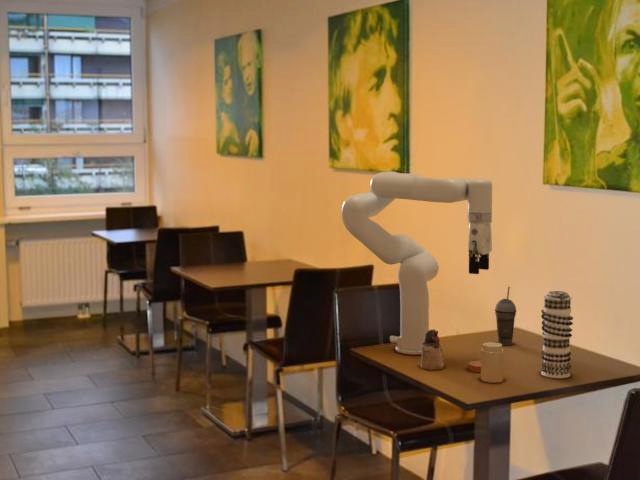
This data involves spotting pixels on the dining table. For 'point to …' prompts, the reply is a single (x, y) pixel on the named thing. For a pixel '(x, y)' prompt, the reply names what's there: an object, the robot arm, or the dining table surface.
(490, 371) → the honey jar
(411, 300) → the robot arm
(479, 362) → the jar lid
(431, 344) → the figurine
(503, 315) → the beverage cup
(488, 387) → the dining table surface
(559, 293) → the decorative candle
